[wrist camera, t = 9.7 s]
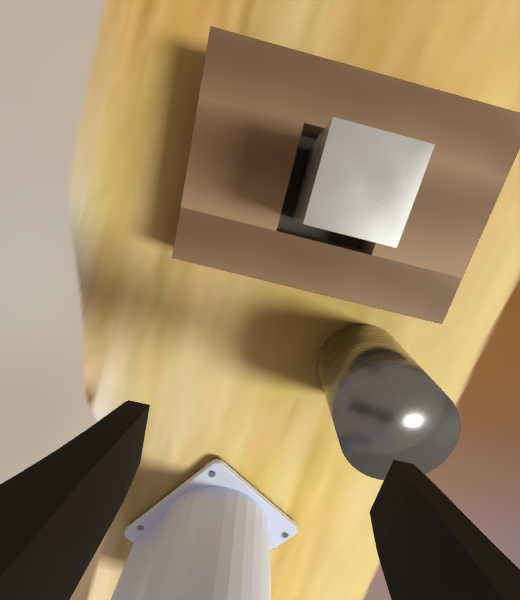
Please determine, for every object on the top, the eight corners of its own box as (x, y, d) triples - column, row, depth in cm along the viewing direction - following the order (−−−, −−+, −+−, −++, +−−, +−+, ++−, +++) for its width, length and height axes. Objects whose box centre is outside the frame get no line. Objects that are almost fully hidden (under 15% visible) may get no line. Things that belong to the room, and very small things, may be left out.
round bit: (383, 406, 19) (432, 491, 14) (307, 388, 19) (324, 467, 13) (413, 335, 18) (481, 396, 12) (331, 315, 18) (362, 368, 12)
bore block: (418, 307, 18) (442, 324, 15) (185, 250, 17) (172, 258, 15) (491, 130, 15) (533, 116, 13) (220, 55, 14) (210, 26, 12)
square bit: (351, 232, 16) (396, 248, 11) (290, 216, 16) (302, 224, 10) (372, 166, 15) (435, 144, 10) (308, 149, 15) (332, 116, 9)
